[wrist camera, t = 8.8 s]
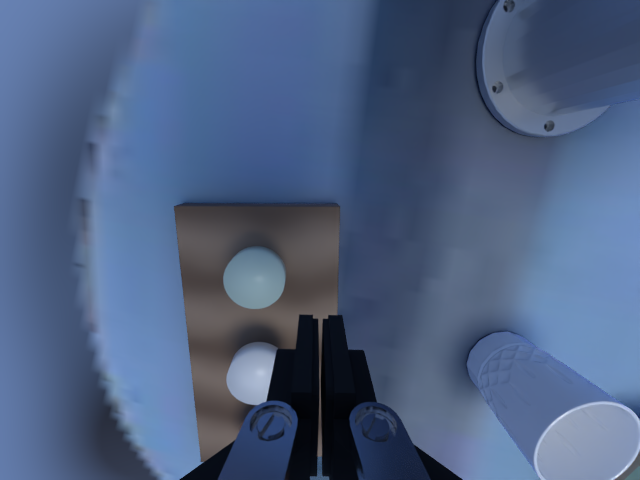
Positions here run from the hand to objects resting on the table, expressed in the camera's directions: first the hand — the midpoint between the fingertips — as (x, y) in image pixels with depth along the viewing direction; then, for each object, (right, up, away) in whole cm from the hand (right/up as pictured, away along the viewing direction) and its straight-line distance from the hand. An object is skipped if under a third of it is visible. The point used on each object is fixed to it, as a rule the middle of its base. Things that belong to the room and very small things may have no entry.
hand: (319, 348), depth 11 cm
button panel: (-5, -5, +17) cm, 18 cm away
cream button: (-5, -6, +14) cm, 16 cm away
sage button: (-5, +2, +13) cm, 14 cm away
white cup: (+18, -8, +19) cm, 28 cm away
